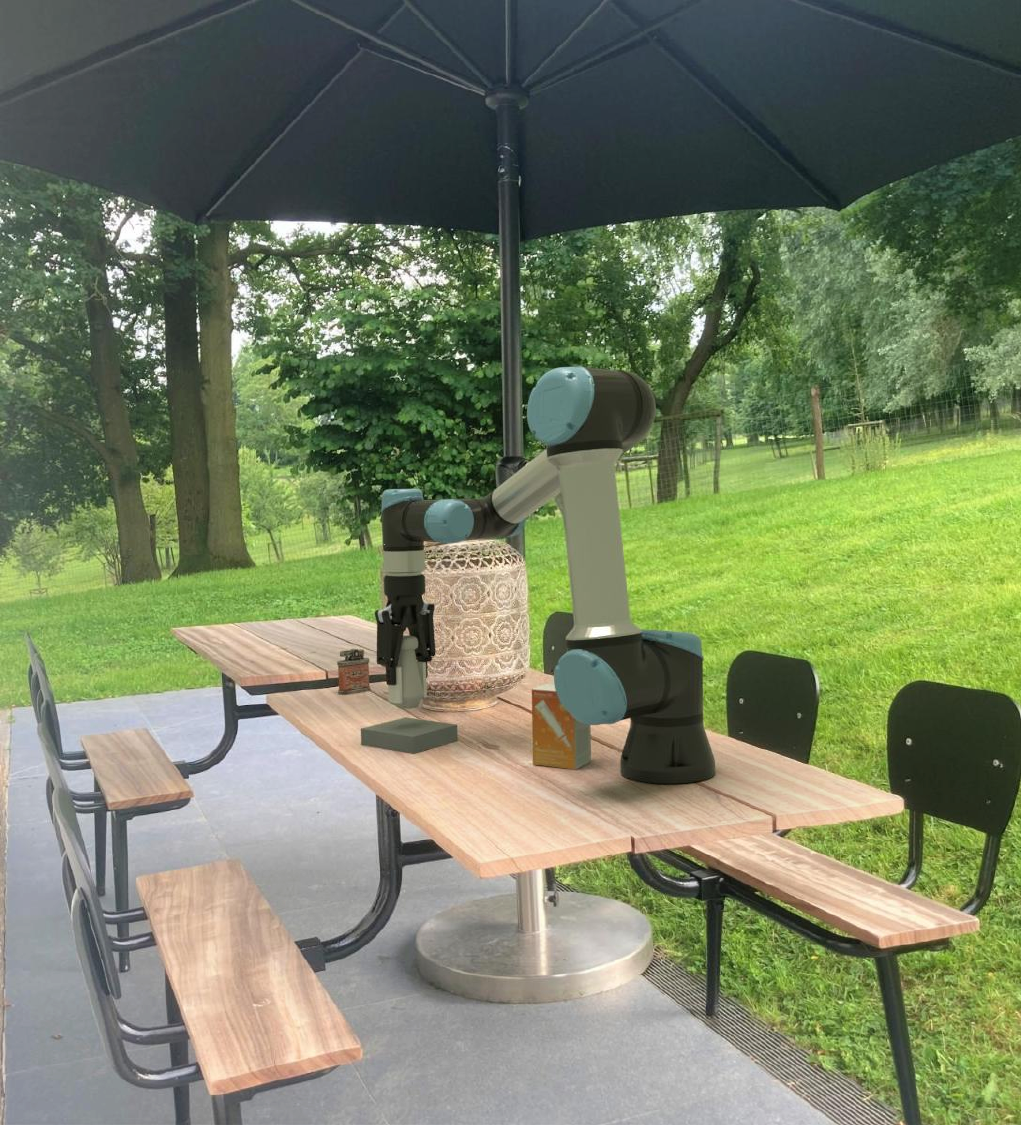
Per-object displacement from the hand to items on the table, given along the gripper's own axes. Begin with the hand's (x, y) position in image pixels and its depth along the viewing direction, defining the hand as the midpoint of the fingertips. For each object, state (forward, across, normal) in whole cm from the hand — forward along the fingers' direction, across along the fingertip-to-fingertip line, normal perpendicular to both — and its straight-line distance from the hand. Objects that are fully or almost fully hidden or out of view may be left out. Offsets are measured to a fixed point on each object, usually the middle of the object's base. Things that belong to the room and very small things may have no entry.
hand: (407, 699), depth 217 cm
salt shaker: (+2, 0, 0) cm, 2 cm away
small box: (+8, -2, +33) cm, 34 cm away
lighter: (+9, -32, -47) cm, 57 cm away
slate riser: (+8, 0, 0) cm, 8 cm away
